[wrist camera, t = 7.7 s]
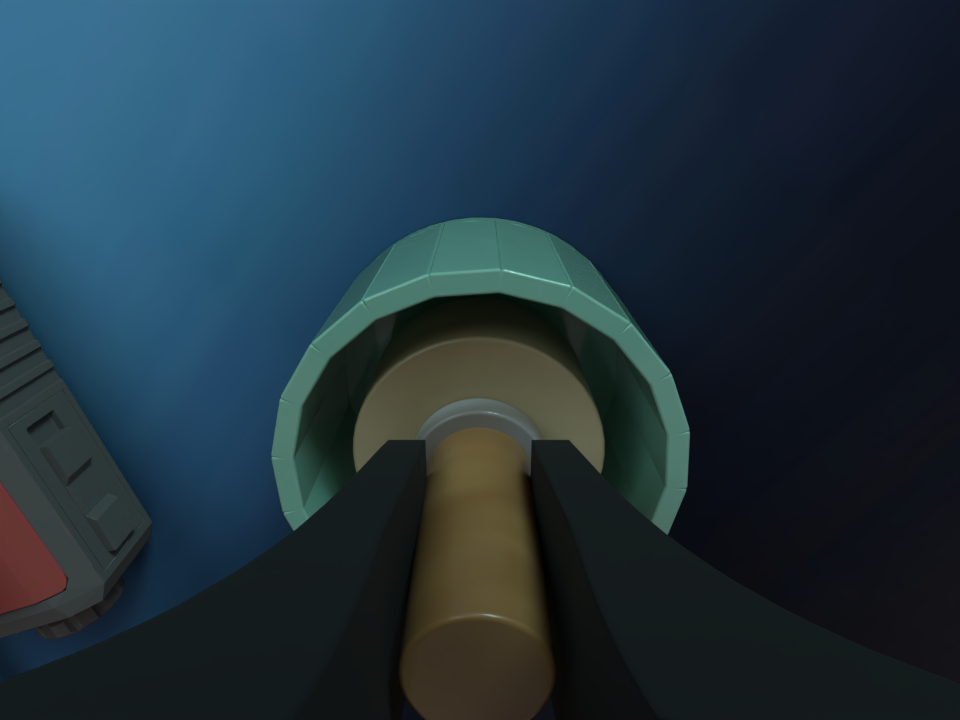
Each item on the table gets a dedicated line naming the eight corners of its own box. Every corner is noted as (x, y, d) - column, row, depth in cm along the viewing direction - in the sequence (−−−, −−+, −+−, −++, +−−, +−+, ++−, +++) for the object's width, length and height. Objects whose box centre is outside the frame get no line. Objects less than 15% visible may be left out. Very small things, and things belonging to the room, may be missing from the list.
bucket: (687, 383, 16) (768, 495, 12) (464, 539, 18) (458, 692, 13) (501, 147, 14) (511, 171, 10) (271, 349, 16) (185, 451, 11)
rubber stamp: (591, 296, 14) (708, 504, 7) (579, 489, 15) (662, 819, 8) (366, 296, 14) (245, 504, 7) (379, 490, 15) (292, 820, 8)
